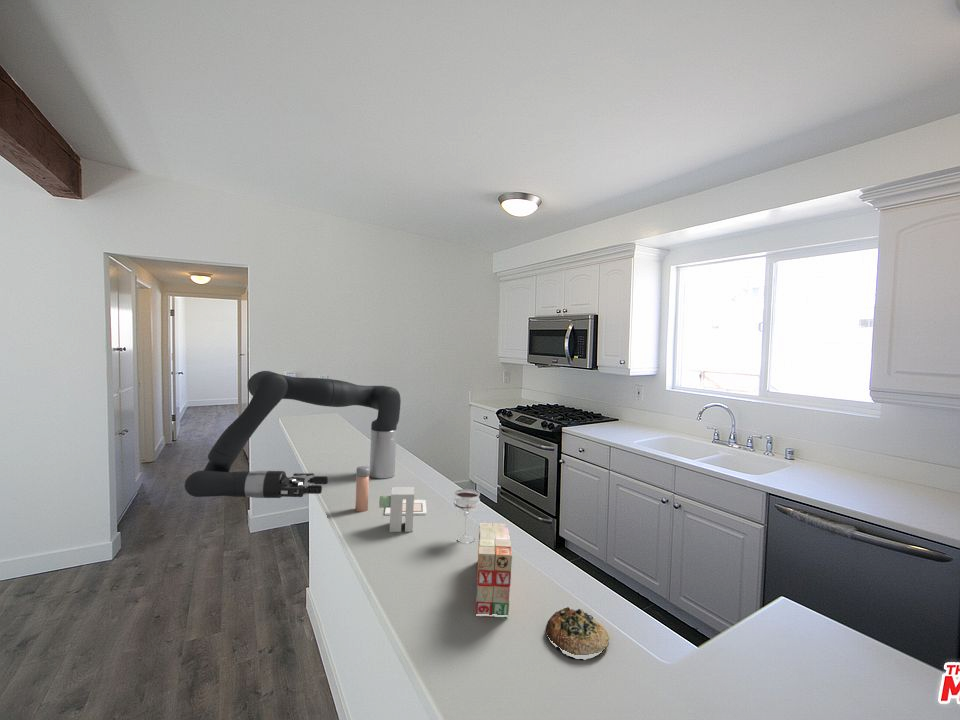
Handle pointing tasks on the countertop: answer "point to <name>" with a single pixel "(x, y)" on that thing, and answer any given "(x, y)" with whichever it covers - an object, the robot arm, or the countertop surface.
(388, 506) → the button
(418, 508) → the white square board
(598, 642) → the bread roll
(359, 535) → the countertop surface
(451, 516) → the countertop surface
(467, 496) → the wineglass
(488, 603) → the stack of blocks
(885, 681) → the countertop surface
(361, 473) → the terracotta marker
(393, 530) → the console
